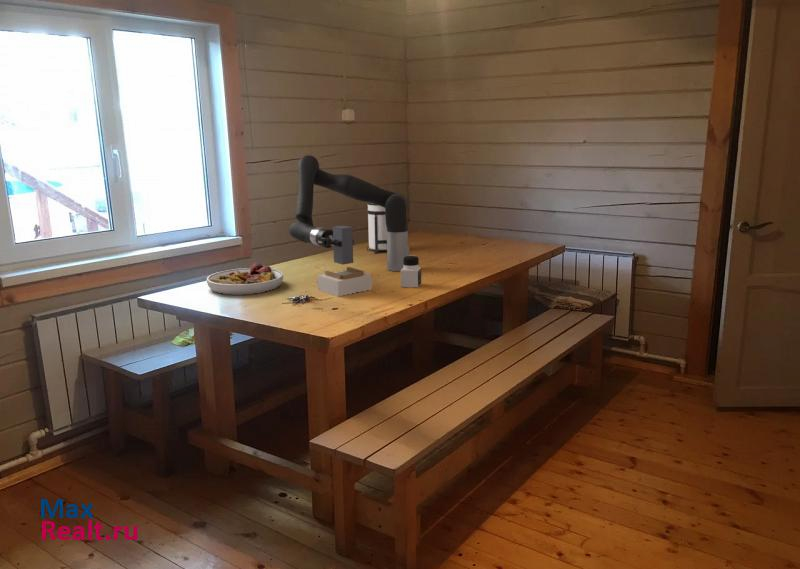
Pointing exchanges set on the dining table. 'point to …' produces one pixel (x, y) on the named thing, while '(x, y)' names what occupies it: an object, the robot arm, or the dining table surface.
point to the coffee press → (377, 227)
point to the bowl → (245, 280)
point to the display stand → (344, 282)
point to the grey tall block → (343, 244)
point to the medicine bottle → (411, 272)
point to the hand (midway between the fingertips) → (346, 243)
